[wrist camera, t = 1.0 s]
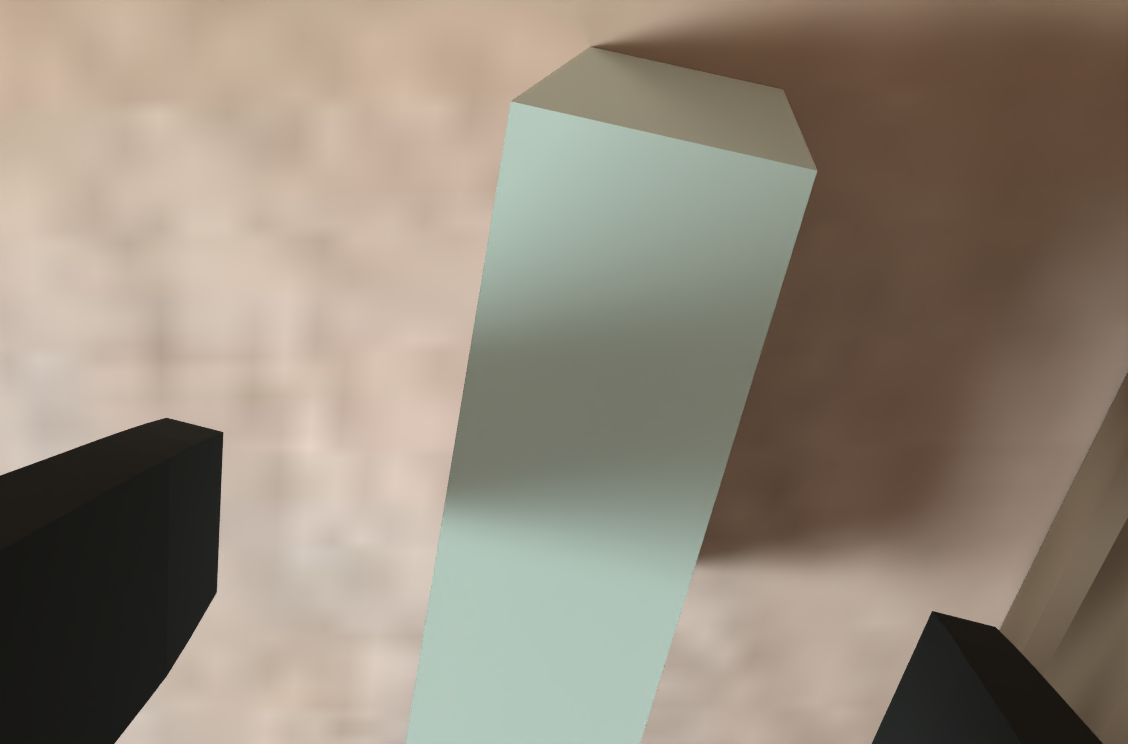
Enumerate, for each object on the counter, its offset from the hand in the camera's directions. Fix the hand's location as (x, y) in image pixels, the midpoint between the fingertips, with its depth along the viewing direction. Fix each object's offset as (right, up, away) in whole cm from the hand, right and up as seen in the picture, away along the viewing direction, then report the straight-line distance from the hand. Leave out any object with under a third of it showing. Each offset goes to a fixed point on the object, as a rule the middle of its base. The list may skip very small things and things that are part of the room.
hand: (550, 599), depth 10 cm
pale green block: (+1, +3, +7) cm, 8 cm away
